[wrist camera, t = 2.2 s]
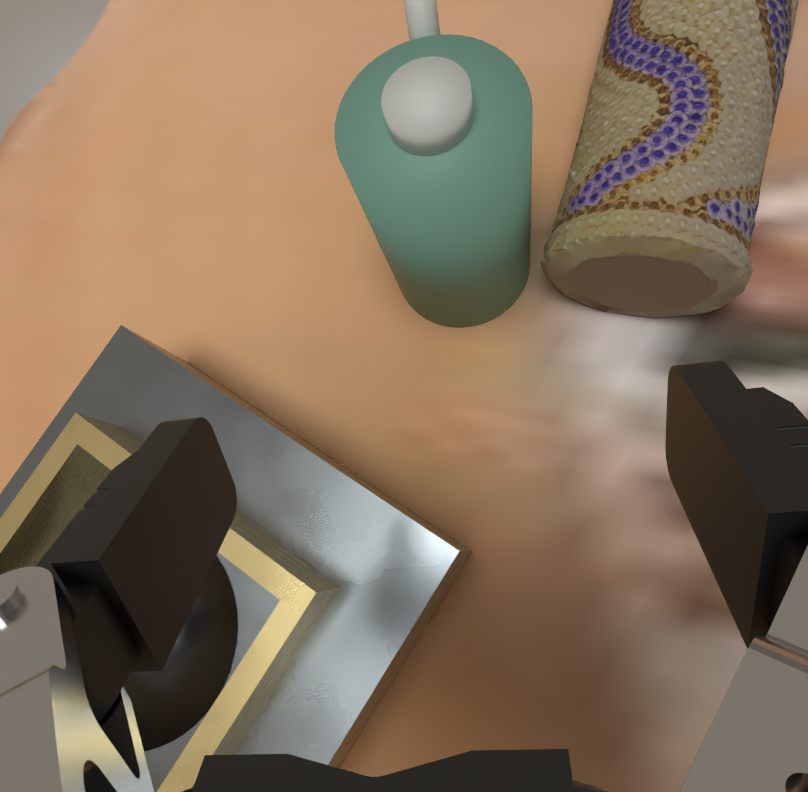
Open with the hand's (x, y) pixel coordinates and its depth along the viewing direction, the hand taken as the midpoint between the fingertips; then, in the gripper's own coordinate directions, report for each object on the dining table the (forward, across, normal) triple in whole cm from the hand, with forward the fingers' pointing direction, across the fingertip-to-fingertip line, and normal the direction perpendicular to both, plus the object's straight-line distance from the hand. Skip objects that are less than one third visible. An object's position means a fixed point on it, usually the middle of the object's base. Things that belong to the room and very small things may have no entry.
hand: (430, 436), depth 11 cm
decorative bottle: (+24, -12, -2) cm, 26 cm away
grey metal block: (+7, +13, +15) cm, 21 cm away
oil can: (+19, 0, +2) cm, 20 cm away
